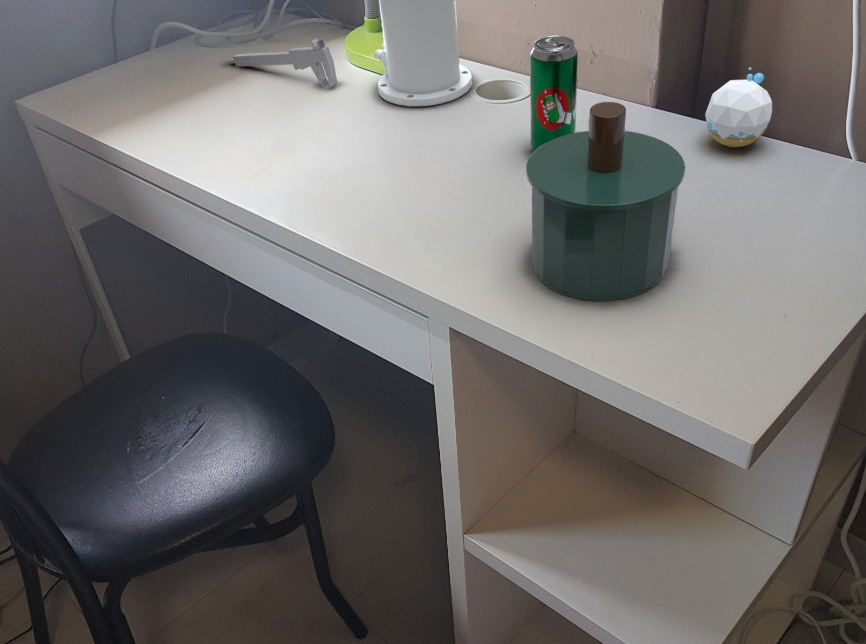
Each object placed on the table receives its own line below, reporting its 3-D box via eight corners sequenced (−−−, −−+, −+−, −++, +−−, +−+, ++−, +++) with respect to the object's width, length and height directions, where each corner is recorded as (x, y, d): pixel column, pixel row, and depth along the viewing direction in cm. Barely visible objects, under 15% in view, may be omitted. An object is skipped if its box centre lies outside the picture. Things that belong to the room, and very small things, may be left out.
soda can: (549, 134, 100) (550, 30, 91) (583, 146, 97) (587, 40, 89) (521, 151, 97) (520, 45, 89) (556, 163, 94) (557, 55, 86)
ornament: (749, 164, 91) (763, 92, 86) (689, 148, 95) (699, 78, 89) (777, 139, 95) (791, 68, 89) (718, 125, 98) (728, 56, 93)
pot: (505, 264, 81) (502, 174, 74) (592, 212, 86) (596, 124, 80) (606, 319, 73) (613, 224, 67) (694, 258, 79) (708, 165, 73)
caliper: (338, 86, 115) (330, 39, 111) (333, 89, 115) (325, 42, 110) (234, 62, 125) (223, 18, 120) (228, 65, 124) (217, 21, 120)
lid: (494, 180, 75) (491, 115, 70) (595, 127, 81) (599, 63, 77) (613, 235, 67) (618, 165, 63) (716, 171, 73) (726, 103, 69)
